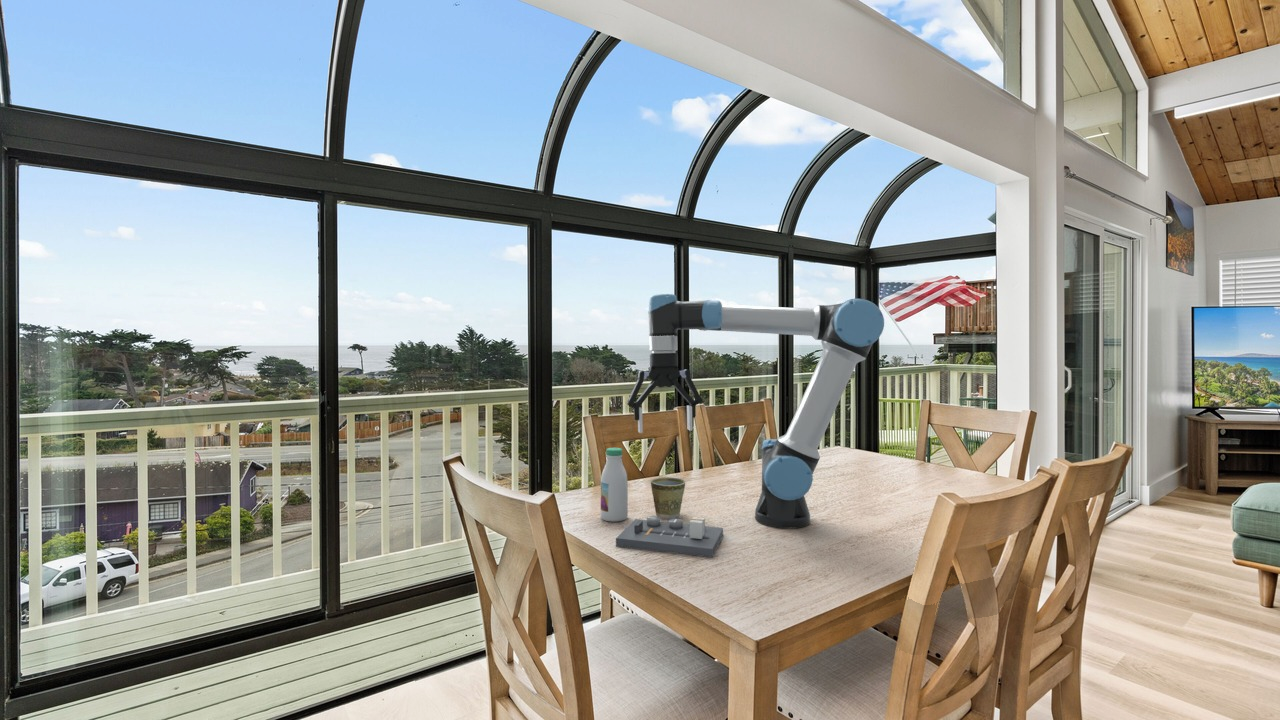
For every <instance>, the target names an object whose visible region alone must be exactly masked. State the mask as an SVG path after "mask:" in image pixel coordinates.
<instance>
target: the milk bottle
mask: <svg viewBox="0 0 1280 720" xmlns="http://www.w3.org/2000/svg"><path fill="white" fill-rule="evenodd" d="M605 453H606V462H605V465H604V467H603V469H602V472H601V476H600V477H601V478H600V519H602V520H603V521H605V522H617V523H618V522H622V521H623V522H624V521H625V520H627V518H628V511H629V510H628V504H629V503H628V502H629V501H628V500H629V498H628V497H629V496H628V494H629V492H628V490H629V488H628V487H629V485H628V483H629V482H628V474H627V470H626V469H625V466H624V464H623V460H622V457H623V448H622V447H608V448H606V450H605Z"/></svg>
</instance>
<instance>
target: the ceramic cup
mask: <svg viewBox="0 0 1280 720" xmlns="http://www.w3.org/2000/svg"><path fill="white" fill-rule="evenodd" d="M650 486H651V487H650V488H651V492H652V493H651V494H652V497H653V504H654V511H655V515H656V517H659V518H660V519H668V520H670V519H678V517H679V516H680V514H681V509H682V502H683V496H684V493H685V487H686V481H685V479H682V478H678V477H671V476H670V477H669V476H667V477H665V476H664V477H655V478H653V479H651V481H650Z"/></svg>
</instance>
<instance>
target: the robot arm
mask: <svg viewBox="0 0 1280 720" xmlns="http://www.w3.org/2000/svg"><path fill="white" fill-rule="evenodd" d="M676 295H677V294H673V293H660V294H657V293H656V294H652V295H651V296H650V297H649V299H648V329H649V330H648V332H649V334H648V336H649V352H651V353H650V354H649V370H648V371H643V370H639V371H638V373H637V379H636V382H635V384H634V387H633V389H632V391H631V393H630V395H629V397H628V400H627V402H626V404H627V406H629V407H631V408H633V419H634V421H637V429H638V430H637V432H638V433H639V434H643V433H644V432H643V431H644V430H643V427H644V426H643V408H642V407H641V405H642V404H643V403H644V402H645V401H646V400H647V398H648V397H649V396H650V394H651V393H652V391H653V390H654V389H656V387H658V388H665V387H667V388H672V387H674V388H675V389H676V390H677V392H679V394H680V395H681V396H682V397H683V399H684V400H685V401H686V402H687V403H688V405H686V428H687V430H688V431H691V432H692V431H693V419H694V418H696V417H697V415H696V413H697V411H696V406H697V405H699V404H702V403H703V399H702V397H701V396H700V394H699V391H698V389H697V387H696V385H695V384H694V381H693V379H692V377H691V371H690V370H689V369H683V370H679V355H678V353H677V352H676V351H678V330H699V331H703V332H705V331H715V332H716V331H718V332H737V333H738V332H739V333H754V334H755V333H756V334H772V335H774V334H775V335H787V336H788V335H792V336H805V337H808V336H809V337H812V338H813V339H814V340H815V341H816V340H817V341H820V343H821V345H822V348H823V352H822V354H821V355H820V359H819V360H818V363H817V364H816V367H815V369H814V371H813V373H812V375H811V377H810V379H809V383H807V386H806V389H805V391H804V393H803V395H802V397H801V400H800V402H799V404H798V406H797V409H796V411H795V413H794V415H793V418H792V419H791V422H790V424H789V426H788V428H787V431H786V432H785V434H784V435H781V436H779V437H777V438H775V439H773V438H768V439H764V440H763V441H762V446H761V491H760V492H761V493H760V496H759V499H758V501H757V504H756V507H755V511H754V512H755V513H754V518H755V521H757V522H758V523H760V524H762V525H764V526H765V525H766V526H769V527H772V528H773V527H774V528H780V529H781V528H782V529H799V528H803V527H804V528H805V527H807V526H808V525H809V524H811V514H810V510H809V507H808V504H807V503H808V502H807V500H806V498H805V495H807V493H809V491H810V489H811V488H812V484H813V481H814V479H813V478H814V475H813V474H814V473H815V469H816V467H817V465H818V463H819V461H820V459H821V455H820V453H819V450H818V448H819V447H820V444H821V441H822V439H823V438H824V435H825V432H826V430H827V429H828V426H829V424H830V422H831V420H832V418H833V416H834V413H835V411H836V410H837V407H838V405H839V403H840V400H841V398H842V396H843V394H844V392H845V391H846V390H845V389H846V388H847V385H848V384H849V382H850V378H851V376H852V374H853V372H854V370H855V368H856V367H857V364H858V363H860V362H864V361H865V360H866V359H867V357H868V354H869V352H870V350H871V347H872V346H873V344H874V343H876V342H877V340H879V338H880V337H881V335H882V333H883V331H884V327H885V318H884V314H883V312H882V310H881V309H880V308H879V306H877V304H875V303H874V302H872V301H870V300H867V299H863V298H850V299H848V300H845V301H843V302H841V303H838V304H837V303H836V304H829V305H828V304H827V305H825V304H817V305H816V306H815V307H812V308H809V307H784V306H783V307H782V306H764V305H763V306H761V305H740V304H739V305H737V304H722V302H721V301H720V300H711V299H707V300H693V301H692V300H689V301H680V300H678V298H677V296H676ZM680 376H681V377H682V379H684V381H685V383H686V384H687V387H688V388H689V390H690V393H691V395H692V397H693V398H694V399H693V398H692V397H691V395H690V394H689V393H688V392H687V391H686V389H684V387H683V386H682V385H681V384H680V382H679V381H678V379H679V377H680ZM648 377H649V379H650V380H651V381H650V382H649V383H648V384H647V387H646V388H645V390H643V392H642V393H641V394H640V396H638V394H639V392H640V389H641V388H642V385H643V383H644V380H646V379H647V378H648ZM637 396H638V397H637ZM637 398H638V399H637ZM636 399H637V400H636Z"/></svg>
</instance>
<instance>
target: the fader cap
mask: <svg viewBox="0 0 1280 720" xmlns="http://www.w3.org/2000/svg"><path fill="white" fill-rule="evenodd" d="M689 525H690V538H696V539H702V538H703V536H704V534H705V526H706V518H705V517H697V516H696V517H695V516H693V517H692V518H691V519H690V521H689Z"/></svg>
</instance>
